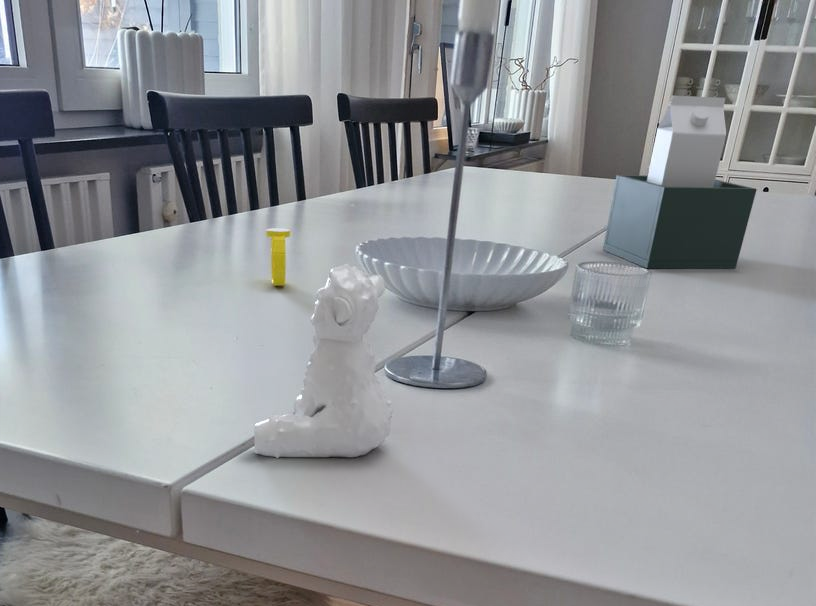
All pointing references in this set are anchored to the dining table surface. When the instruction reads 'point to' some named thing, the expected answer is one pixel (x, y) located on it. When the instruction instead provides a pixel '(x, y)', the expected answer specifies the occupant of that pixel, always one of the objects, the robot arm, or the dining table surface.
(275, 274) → the yellow capped post
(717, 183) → the box
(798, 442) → the dining table surface
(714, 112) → the milk carton
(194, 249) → the dining table surface
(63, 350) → the dining table surface
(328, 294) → the white creature statuette
